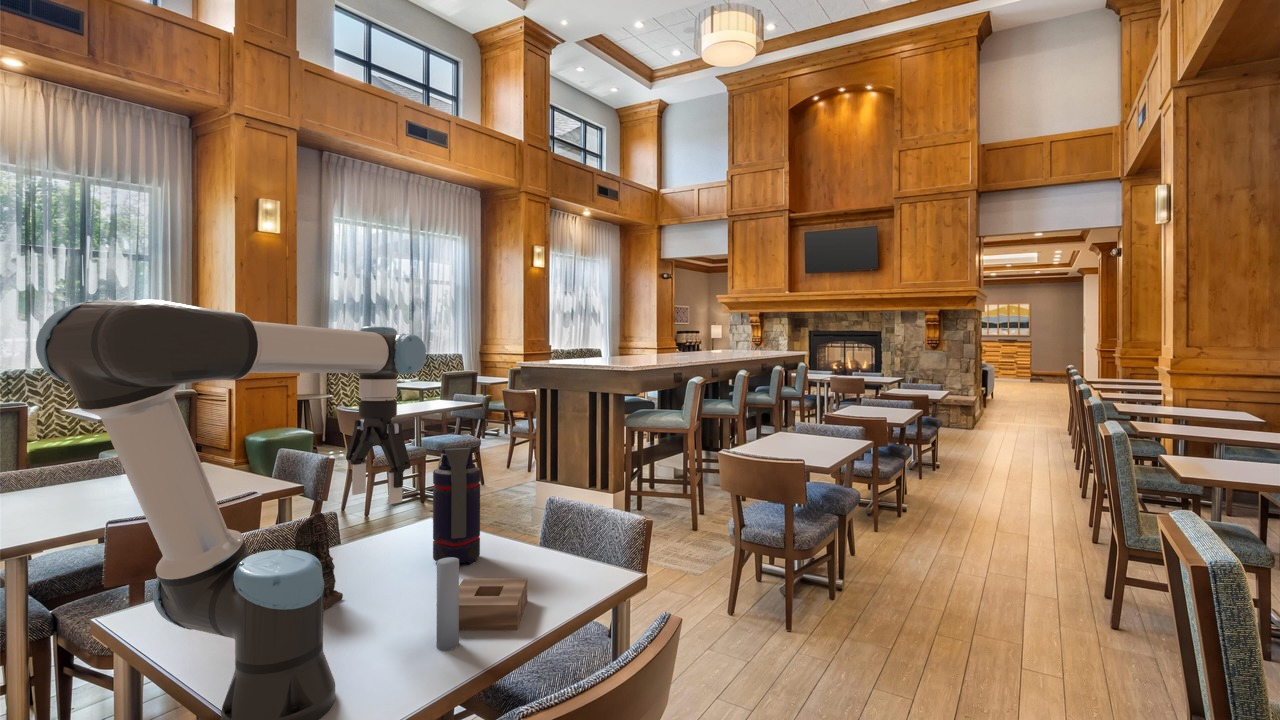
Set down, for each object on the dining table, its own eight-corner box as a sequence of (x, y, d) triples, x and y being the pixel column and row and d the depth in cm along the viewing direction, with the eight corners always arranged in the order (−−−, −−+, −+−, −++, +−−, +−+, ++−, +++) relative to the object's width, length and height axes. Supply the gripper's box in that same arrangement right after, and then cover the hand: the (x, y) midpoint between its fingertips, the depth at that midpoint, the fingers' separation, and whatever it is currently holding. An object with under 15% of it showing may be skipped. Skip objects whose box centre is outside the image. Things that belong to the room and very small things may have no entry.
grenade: (432, 555, 163) (432, 444, 163) (477, 550, 167) (478, 442, 167) (433, 573, 150) (434, 453, 150) (483, 567, 154) (483, 450, 154)
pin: (455, 650, 112) (455, 564, 112) (433, 650, 112) (433, 564, 112) (461, 639, 116) (461, 557, 116) (440, 640, 116) (440, 557, 116)
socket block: (516, 629, 121) (517, 604, 121) (445, 630, 120) (446, 605, 120) (527, 600, 135) (527, 578, 134) (463, 600, 134) (463, 578, 134)
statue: (321, 612, 128) (321, 518, 127) (292, 609, 129) (292, 515, 129) (344, 599, 134) (344, 509, 134) (316, 596, 136) (316, 507, 136)
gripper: (429, 401, 125) (427, 503, 125) (362, 395, 140) (360, 487, 140) (396, 402, 119) (395, 510, 119) (329, 396, 134) (328, 493, 134)
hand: (376, 498), depth 129 cm, fingers open, 13 cm apart
